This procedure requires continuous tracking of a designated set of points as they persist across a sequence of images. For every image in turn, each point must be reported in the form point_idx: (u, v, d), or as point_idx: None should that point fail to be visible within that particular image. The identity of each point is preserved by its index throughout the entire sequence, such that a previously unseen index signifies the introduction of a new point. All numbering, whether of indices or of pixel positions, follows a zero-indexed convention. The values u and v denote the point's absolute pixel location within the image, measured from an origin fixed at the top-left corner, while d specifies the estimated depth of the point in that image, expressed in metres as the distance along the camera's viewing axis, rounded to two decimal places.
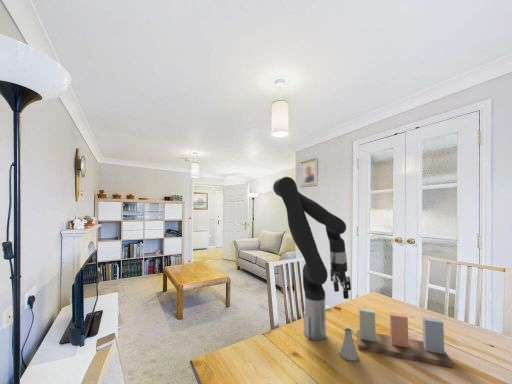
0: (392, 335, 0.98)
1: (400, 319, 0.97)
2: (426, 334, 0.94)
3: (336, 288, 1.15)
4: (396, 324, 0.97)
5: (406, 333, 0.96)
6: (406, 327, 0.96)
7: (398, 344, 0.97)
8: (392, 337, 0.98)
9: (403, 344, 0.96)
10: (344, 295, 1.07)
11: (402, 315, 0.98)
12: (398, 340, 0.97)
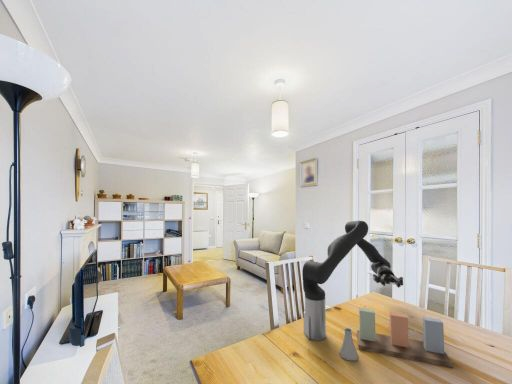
0: (392, 335, 0.98)
1: (400, 319, 0.97)
2: (426, 334, 0.94)
3: (384, 282, 1.14)
4: (396, 324, 0.97)
5: (406, 333, 0.96)
6: (406, 327, 0.96)
7: (398, 344, 0.97)
8: (392, 337, 0.98)
9: (403, 344, 0.96)
10: (398, 282, 1.12)
11: (402, 315, 0.98)
12: (398, 340, 0.97)
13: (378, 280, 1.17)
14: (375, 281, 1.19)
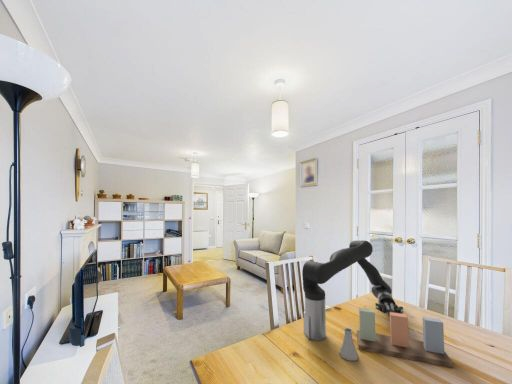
0: (392, 335, 0.98)
1: (400, 319, 0.97)
2: (426, 334, 0.94)
3: None
4: (396, 324, 0.97)
5: (406, 333, 0.96)
6: (406, 327, 0.96)
7: (398, 344, 0.97)
8: (392, 337, 0.98)
9: (403, 344, 0.96)
10: (393, 312, 1.11)
11: (402, 315, 0.98)
12: (398, 340, 0.97)
13: (385, 310, 1.15)
14: (381, 311, 1.17)
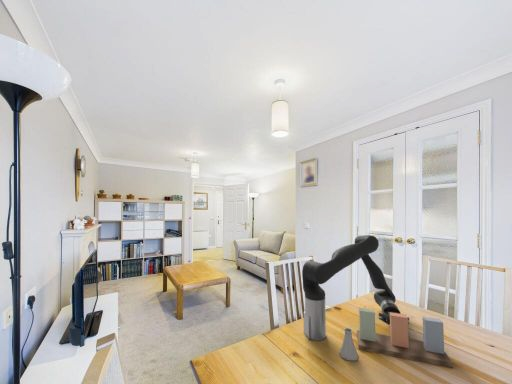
0: (392, 335, 0.97)
1: (400, 320, 0.96)
2: (426, 334, 0.94)
3: None
4: (396, 325, 0.97)
5: (406, 333, 0.96)
6: (406, 327, 0.96)
7: (398, 344, 0.96)
8: (392, 337, 0.97)
9: (403, 345, 0.96)
10: None
11: (402, 315, 0.97)
12: (398, 341, 0.96)
13: None
14: (385, 322, 1.06)
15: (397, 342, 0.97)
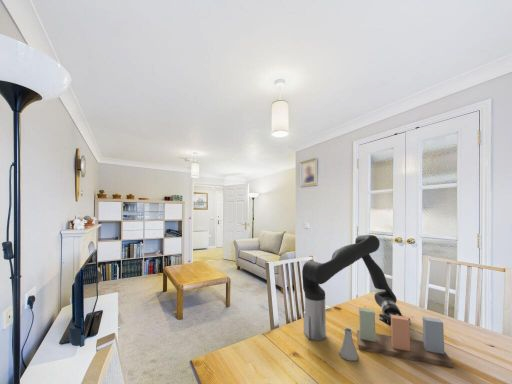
0: (393, 338, 0.95)
1: (402, 322, 0.94)
2: (426, 334, 0.94)
3: None
4: (397, 327, 0.95)
5: (408, 336, 0.93)
6: (408, 330, 0.94)
7: (399, 347, 0.94)
8: (393, 340, 0.95)
9: (404, 348, 0.94)
10: None
11: (403, 318, 0.95)
12: (400, 344, 0.94)
13: None
14: (385, 323, 1.05)
15: (398, 345, 0.94)
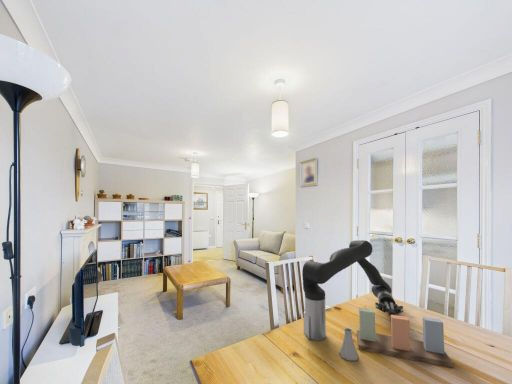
0: (393, 338, 0.95)
1: (402, 322, 0.94)
2: (426, 334, 0.94)
3: None
4: (397, 327, 0.95)
5: (408, 336, 0.93)
6: (408, 330, 0.94)
7: (399, 347, 0.94)
8: (393, 340, 0.95)
9: (404, 348, 0.94)
10: (393, 311, 1.12)
11: (403, 318, 0.95)
12: (400, 344, 0.94)
13: (385, 309, 1.15)
14: (381, 310, 1.17)
15: (398, 345, 0.94)
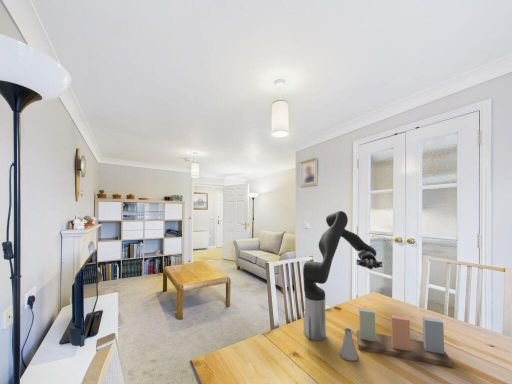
0: (393, 338, 0.95)
1: (402, 322, 0.94)
2: (426, 334, 0.94)
3: None
4: (397, 327, 0.95)
5: (408, 336, 0.93)
6: (408, 330, 0.94)
7: (399, 347, 0.94)
8: (393, 340, 0.95)
9: (404, 348, 0.94)
10: (371, 264, 1.17)
11: (403, 318, 0.95)
12: (400, 344, 0.94)
13: (365, 264, 1.21)
14: (361, 265, 1.23)
15: (398, 345, 0.94)
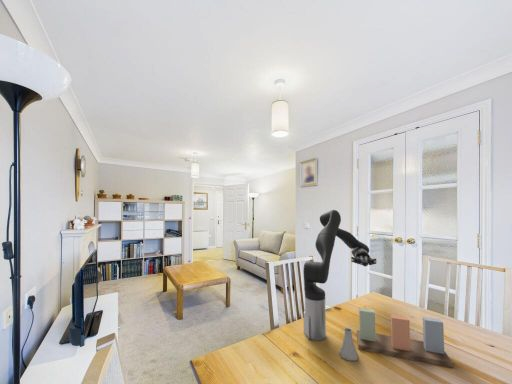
0: (393, 338, 0.95)
1: (402, 322, 0.94)
2: (426, 334, 0.94)
3: None
4: (397, 327, 0.95)
5: (408, 336, 0.93)
6: (408, 330, 0.94)
7: (399, 347, 0.94)
8: (393, 340, 0.95)
9: (404, 348, 0.94)
10: (366, 261, 1.19)
11: (403, 318, 0.95)
12: (400, 344, 0.94)
13: (360, 261, 1.23)
14: None
15: (398, 345, 0.94)
